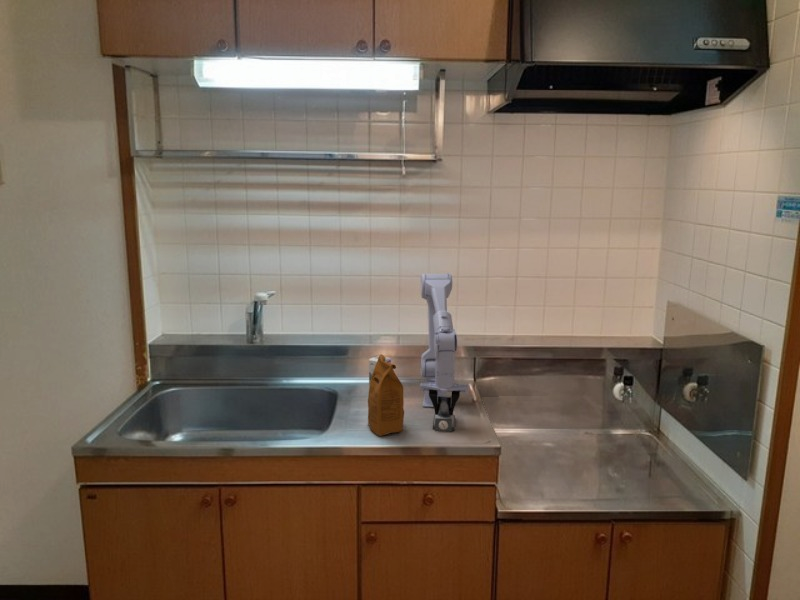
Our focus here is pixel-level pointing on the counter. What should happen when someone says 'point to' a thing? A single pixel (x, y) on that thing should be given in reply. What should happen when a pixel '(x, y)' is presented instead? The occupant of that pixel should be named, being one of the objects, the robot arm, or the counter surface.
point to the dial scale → (444, 423)
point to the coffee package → (385, 399)
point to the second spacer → (444, 406)
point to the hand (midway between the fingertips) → (443, 413)
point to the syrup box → (373, 363)
